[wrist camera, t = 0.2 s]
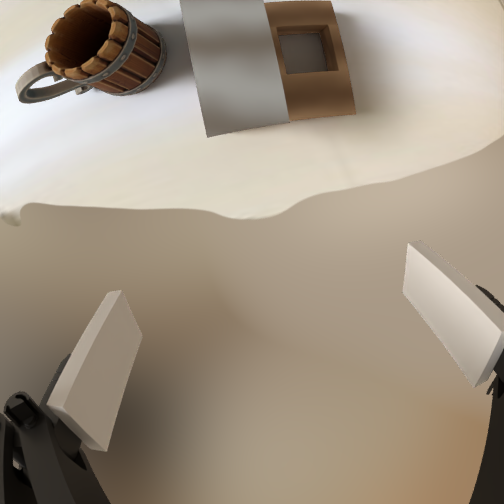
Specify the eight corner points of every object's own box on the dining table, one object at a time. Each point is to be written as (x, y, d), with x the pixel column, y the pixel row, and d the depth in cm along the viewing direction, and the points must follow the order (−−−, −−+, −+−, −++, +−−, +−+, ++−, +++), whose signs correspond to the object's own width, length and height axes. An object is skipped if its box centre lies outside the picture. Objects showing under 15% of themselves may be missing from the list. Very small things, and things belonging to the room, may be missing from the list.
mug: (153, 15, 27) (114, -31, 13) (180, 73, 31) (146, 44, 17) (62, 72, 28) (-4, 63, 15) (83, 129, 33) (17, 139, 19)
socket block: (196, 25, 28) (174, -26, 14) (322, 10, 27) (364, -36, 14) (218, 133, 35) (207, 137, 21) (344, 114, 34) (403, 113, 20)
